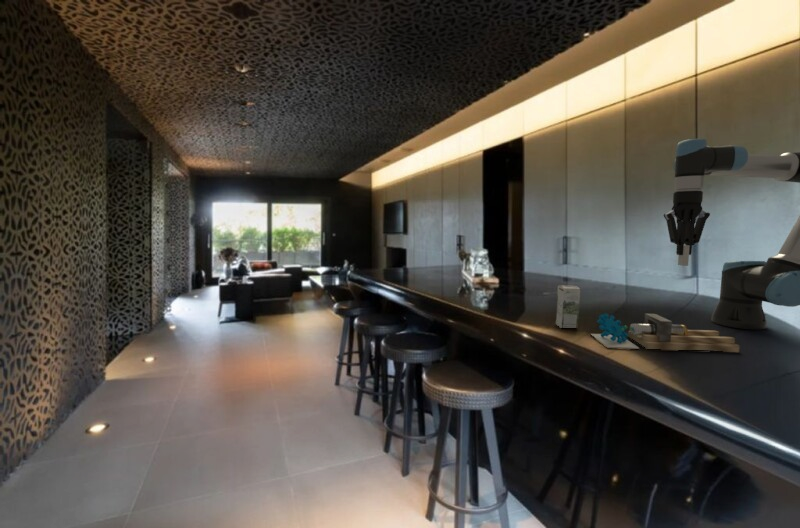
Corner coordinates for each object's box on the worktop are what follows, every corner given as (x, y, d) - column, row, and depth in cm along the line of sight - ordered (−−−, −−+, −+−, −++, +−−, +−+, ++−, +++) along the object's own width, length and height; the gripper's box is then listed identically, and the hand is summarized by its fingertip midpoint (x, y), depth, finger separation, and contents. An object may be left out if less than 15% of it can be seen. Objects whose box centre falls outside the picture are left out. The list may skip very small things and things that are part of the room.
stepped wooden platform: (710, 339, 126) (713, 314, 125) (738, 352, 114) (741, 324, 113) (627, 337, 128) (629, 312, 127) (647, 349, 116) (649, 322, 115)
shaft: (680, 334, 123) (681, 323, 122) (687, 338, 119) (688, 326, 119) (629, 333, 124) (630, 322, 124) (634, 336, 121) (635, 325, 120)
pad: (619, 336, 129) (619, 334, 129) (639, 349, 116) (639, 347, 116) (590, 335, 130) (590, 333, 130) (606, 348, 117) (607, 346, 117)
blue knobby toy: (610, 340, 118) (595, 311, 124) (596, 349, 122) (583, 321, 128) (637, 341, 121) (622, 313, 127) (623, 350, 126) (609, 322, 132)
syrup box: (571, 324, 143) (573, 284, 141) (578, 329, 137) (580, 287, 135) (555, 324, 143) (557, 284, 141) (561, 329, 137) (563, 287, 135)
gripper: (701, 190, 128) (696, 263, 131) (659, 191, 129) (655, 263, 132) (718, 189, 121) (712, 266, 124) (673, 190, 122) (668, 266, 125)
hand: (683, 265), depth 128 cm, fingers closed
